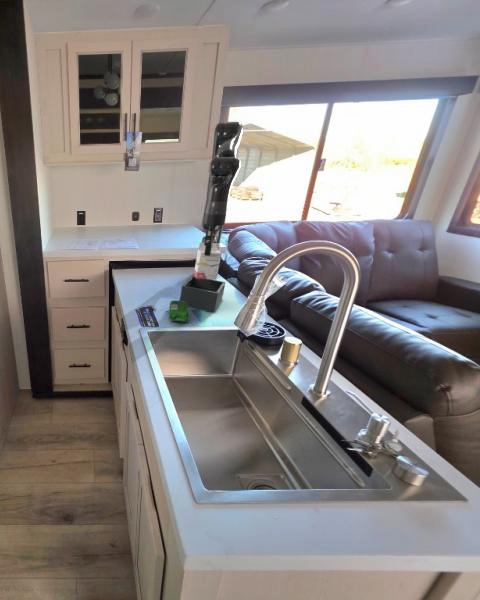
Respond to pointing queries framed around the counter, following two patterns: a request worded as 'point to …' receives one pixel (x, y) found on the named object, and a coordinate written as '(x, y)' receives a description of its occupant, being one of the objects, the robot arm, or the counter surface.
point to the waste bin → (202, 293)
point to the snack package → (178, 311)
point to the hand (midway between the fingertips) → (209, 253)
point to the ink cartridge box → (207, 262)
